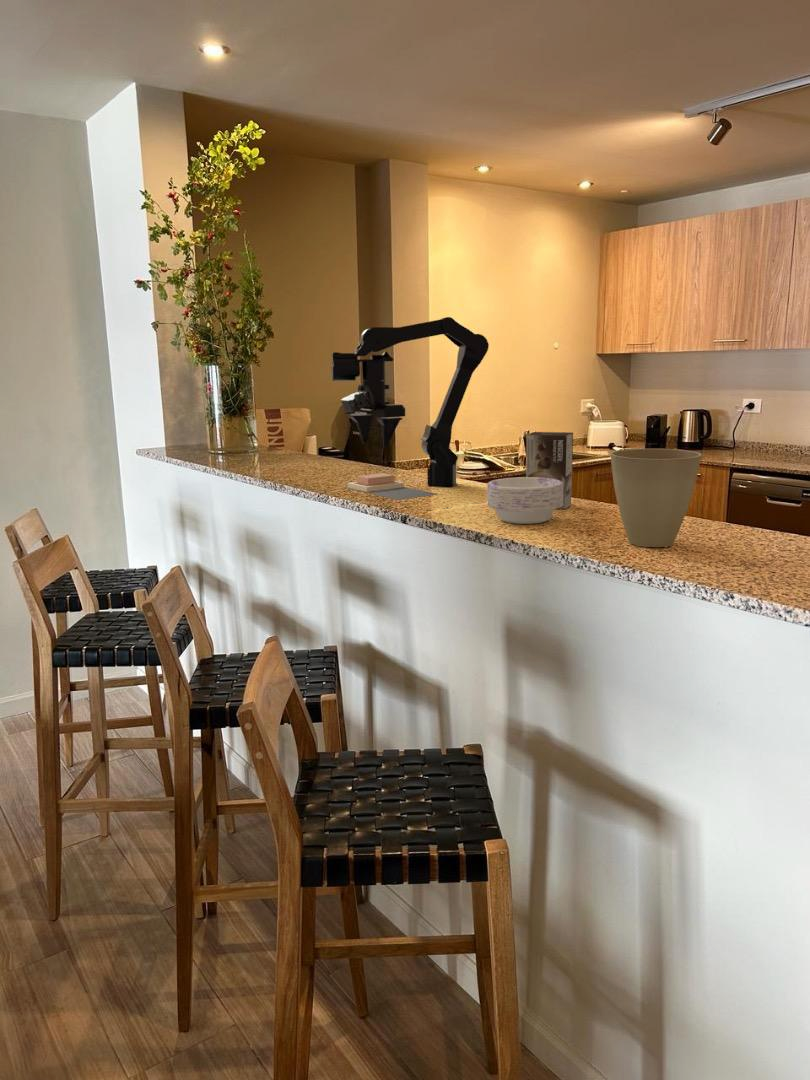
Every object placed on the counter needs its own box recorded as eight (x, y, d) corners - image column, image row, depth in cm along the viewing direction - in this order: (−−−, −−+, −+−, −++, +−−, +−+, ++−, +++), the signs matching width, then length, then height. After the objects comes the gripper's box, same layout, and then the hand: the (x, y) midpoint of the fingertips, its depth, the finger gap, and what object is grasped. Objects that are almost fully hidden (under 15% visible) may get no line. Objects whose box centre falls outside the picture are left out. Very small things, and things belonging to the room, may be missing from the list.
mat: (439, 496, 186) (439, 489, 185) (398, 502, 179) (398, 494, 178) (382, 484, 204) (381, 477, 204) (343, 489, 197) (342, 482, 197)
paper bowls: (473, 516, 162) (474, 478, 160) (537, 510, 168) (538, 474, 166) (509, 530, 148) (510, 489, 146) (577, 524, 154) (579, 484, 152)
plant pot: (631, 530, 147) (636, 446, 143) (709, 542, 137) (716, 452, 133) (590, 544, 137) (594, 453, 133) (670, 558, 126) (677, 460, 123)
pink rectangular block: (368, 490, 192) (367, 478, 191) (357, 487, 196) (357, 476, 195) (394, 487, 196) (394, 475, 196) (383, 484, 200) (383, 473, 200)
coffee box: (572, 504, 174) (574, 432, 170) (565, 509, 168) (567, 434, 164) (532, 502, 177) (534, 430, 174) (524, 506, 172) (526, 433, 168)
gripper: (325, 380, 193) (327, 443, 196) (367, 382, 178) (368, 450, 182) (363, 379, 199) (364, 441, 203) (406, 381, 185) (407, 446, 188)
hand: (374, 444), depth 194 cm, fingers open, 9 cm apart
